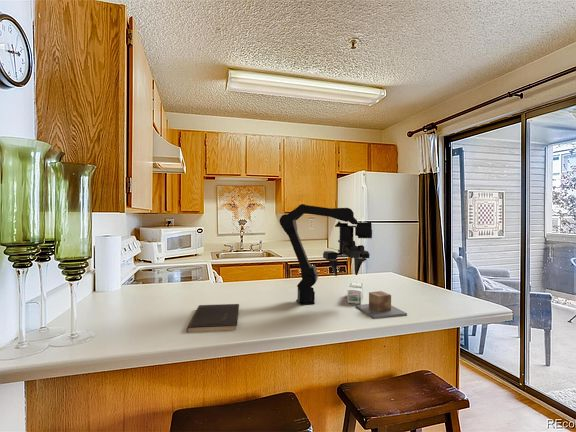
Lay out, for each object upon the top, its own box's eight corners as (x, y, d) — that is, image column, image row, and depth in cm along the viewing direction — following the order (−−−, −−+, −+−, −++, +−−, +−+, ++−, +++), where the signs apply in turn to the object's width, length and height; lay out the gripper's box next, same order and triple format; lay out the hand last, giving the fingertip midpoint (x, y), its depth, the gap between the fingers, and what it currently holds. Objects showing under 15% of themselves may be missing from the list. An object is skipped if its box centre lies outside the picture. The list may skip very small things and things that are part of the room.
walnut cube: (378, 311, 117) (378, 296, 117) (368, 307, 122) (369, 292, 122) (391, 310, 119) (391, 294, 119) (381, 305, 124) (381, 291, 124)
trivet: (374, 318, 112) (374, 316, 112) (355, 307, 125) (355, 305, 125) (407, 315, 115) (407, 313, 115) (385, 304, 129) (385, 302, 129)
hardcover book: (239, 309, 123) (239, 303, 123) (237, 331, 100) (237, 324, 100) (198, 311, 121) (198, 305, 121) (186, 334, 98) (186, 326, 98)
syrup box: (350, 294, 144) (347, 303, 130) (350, 282, 144) (347, 290, 130) (363, 295, 142) (361, 305, 128) (363, 282, 142) (361, 291, 128)
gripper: (333, 240, 117) (333, 280, 117) (376, 239, 122) (376, 278, 122) (322, 237, 127) (322, 275, 128) (362, 237, 132) (362, 272, 132)
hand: (346, 275), depth 127 cm, fingers open, 9 cm apart
